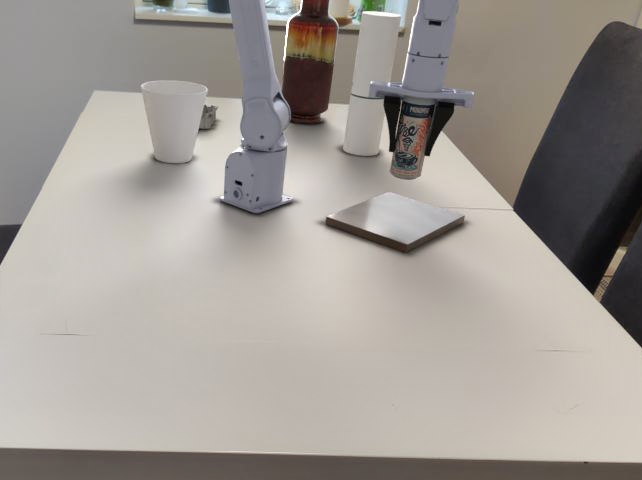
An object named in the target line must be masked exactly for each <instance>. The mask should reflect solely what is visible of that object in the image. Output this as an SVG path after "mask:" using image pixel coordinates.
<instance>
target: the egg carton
mask: <svg viewBox="0 0 642 480" xmlns="http://www.w3.org/2000/svg"><path fill="white" fill-rule="evenodd" d="M218 108H219V105H216V106H215V105H210V106H208V105H207V104H206V103H204V108H203V112H202V117H201V121H200V125H199V129H202V130H204V129H205V130H206V129H212V126H213V125H214V122H216V119H217V110H218Z"/></svg>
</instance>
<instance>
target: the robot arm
mask: <svg viewBox="0 0 642 480" xmlns="http://www.w3.org/2000/svg"><path fill="white" fill-rule="evenodd" d="M459 2H460V1H459V0H418V3H417V8H416V13H415V15H414V16H413V17H412V18H413V19H412V25H411V30H410V35H409V42H408V48H407V53H406V59H405V64H404V70H403V74H402V75H403V76H402V80H401V82H392V81H390V82H374V81H371V83H370V89H369V96H368V97H369V98H376V97H378V98H384V102H383V106H384V110H385V117H386V123H387V128H388V140H389V143H388V145H389V146H388V152H389V153H393V152H394V148H395V139H396V133H397V127H398V122H399V116H400V111H401V105H402V99H403V98H404V97H405V96H413V97H420V98H434V99H435V102H436V104H435V108H434V113H433V118H432V123H431V128H430V133H429V138H428V142H427V147H426V152H425V157H431V153H432V151H433V148H434V146H435V144H436V142H437V139H438V137H439V136H440V134H441V133H442V131H443V130H444V129H445V126H446V125H447V123H448V122H449V121H450V120H451V119H452V117H453V115H454V113H455V107H462V108H464V109H472V107H473V104H474V103H473V102H474V99H475V93H474V91H472V90H471V91H470V90H462V89H456V88H450V87H445V86H444V83H445V79H446V73H447V68H448V65H449V59H450V56H451V55H450V54H451V50H452V45H453V40H454V35H455V30H456V26H457V19H456V17H457V14H458V11H459V8H460V4H459ZM228 5H229V12H230V17H231V20H232V21H231V23H232V28H233V33H234V39H235V44H236V45H235V46H236V51H237V57H238V62H239V68H240V73H241V80H242V92H241V106H242V115H241V119H240V123H239V130H240V131H239V132H240V134H241V137H242V138H240V144H239V146H238V148H237V149H235V150H234V151H232V152H231V153H230V154H229V155H228V157H227V158H226V161H225V166H224V167H225V168H224V181H223V182H224V183H223V195H222V196H219V201H221V202H224V203H225V204H228V205H232V206H234V207H237V208H239V209H241V210H245V211H247V212H249V213H250V212H251V213H253V214H260V213H263V212H266V211H269V210H271V209H274V208H277V207H280V206H284V205H286V204H288V203H291V202H293V201H294V197H292V196H289V195H286V194H284V184H285V182H284V181H285V175H286V165H287V163H286V162H287V153H288V141H287V140H286V137H285V135H284V131H285V130H286V129H287V128H288V127H289V124H290V123H291V121H290V118H291V112H290V108H289V105H288V103H287V102H286V101H285V99H284V98H283V95H282V92H281V87H282V85H281V83H280V82H279V79H278V76H277V74H276V73H277V72H276V67H275V61H274V54H273V48H272V42H271V36H270V28H269V23H268V16H267V9H266V2H265V0H228Z"/></svg>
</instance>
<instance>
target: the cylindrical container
mask: <svg viewBox="0 0 642 480" xmlns="http://www.w3.org/2000/svg"><path fill="white" fill-rule="evenodd" d="M401 20H402V15H401V14H398V13H392V12H386V11H374V10H373V11H371V10H369V11H367V10H365V11H362V12H361V18H360V24H359V25H360V26H359V34H358V38H357V47H356V54H355V59H354V68H353V74H352V81H351V82H352V83H351V89H350V97H349V101H348V102H349V103H348V111H347V118H346V125H345V130H344V139H343V146H342V150H343V151H344V152H345V153H347V154H350V155H354V156H361V157H362V156H363V157H371V156H377V155H378V154H379V150H380V146H381V141H382V140H381V139H382V133H383V129H384V128H383V127H384V122H385V117H386V114H385V110H384V106H383V102H384V98H378V97H376V98H369V97H368V96H369V89H370V83H371V81H374V82H392V81H391V80H392V75H393V68H394V62H395V57H396V50H397V45H398V39H399V33H400V32H399V31H400V26H401Z"/></svg>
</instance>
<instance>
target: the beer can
mask: <svg viewBox="0 0 642 480" xmlns="http://www.w3.org/2000/svg"><path fill="white" fill-rule="evenodd" d="M435 104H436V102H435V99H434V98H420V97H413V96H405V97H404V98H403V99H402V100H401V106H400V113H399V119H398V124H397V129H396V138H395V148H394V152H392V155H391V161H390V166H389V173H390V174H391V175H392V176H393V177H394V178H396V179H400V180H404V181H405V180H406V181H412V180H416V179H417V178H420V177H421V176H422V171H423V167H424V161H425V157H426V156H425V152H426V147H427V142H428V138H429V133H430V128H431V123H432V118H433V113H434V108H435Z"/></svg>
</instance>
